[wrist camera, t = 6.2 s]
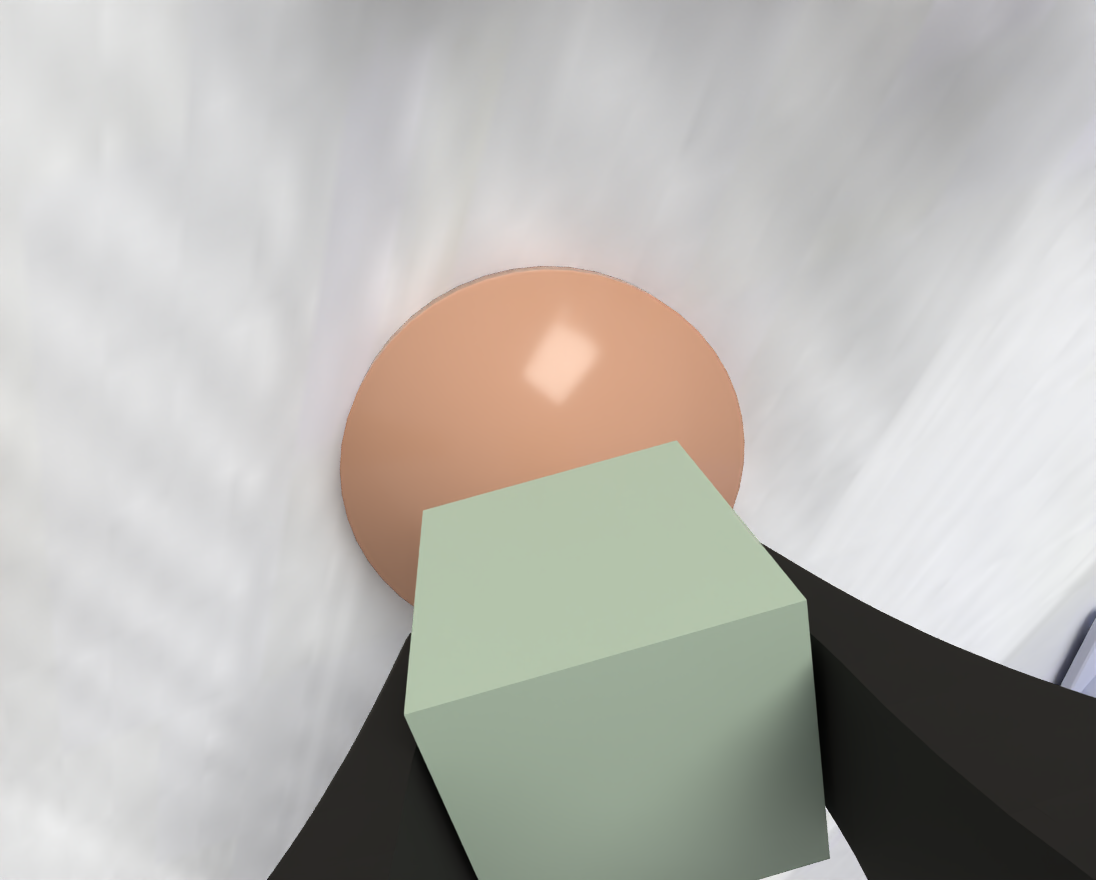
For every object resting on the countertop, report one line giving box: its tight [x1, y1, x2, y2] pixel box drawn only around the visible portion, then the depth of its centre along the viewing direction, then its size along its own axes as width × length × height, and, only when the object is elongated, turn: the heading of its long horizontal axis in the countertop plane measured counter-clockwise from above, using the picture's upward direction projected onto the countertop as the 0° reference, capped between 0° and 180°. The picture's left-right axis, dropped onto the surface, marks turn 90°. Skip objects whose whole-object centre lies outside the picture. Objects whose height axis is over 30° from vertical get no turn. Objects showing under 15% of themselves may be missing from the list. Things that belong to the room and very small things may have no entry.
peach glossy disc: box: [340, 266, 744, 606], centre depth 16 cm, size 10×10×1 cm
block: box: [404, 440, 830, 880], centre depth 10 cm, size 4×4×4 cm
